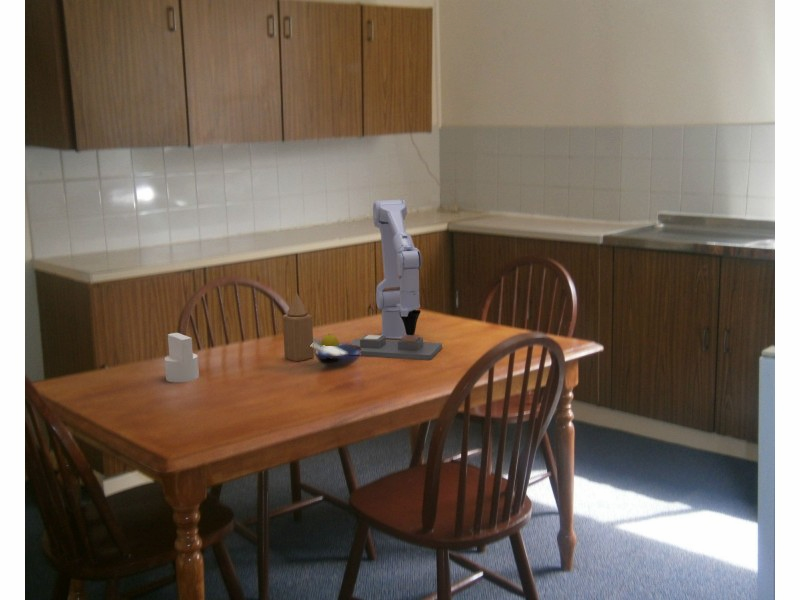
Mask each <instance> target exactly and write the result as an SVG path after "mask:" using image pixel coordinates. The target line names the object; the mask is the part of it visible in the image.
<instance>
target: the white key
mask: <svg viewBox="0 0 800 600" xmlns="http://www.w3.org/2000/svg"><path fill="white" fill-rule="evenodd" d="M367 335H368V336H366V337H365V338H364V339H369V340H379V339H380V338H381V337H382V336H379V334H367Z"/></svg>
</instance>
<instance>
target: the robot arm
mask: <svg viewBox="0 0 800 600" xmlns="http://www.w3.org/2000/svg"><path fill="white" fill-rule="evenodd" d="M407 209H408V208H407V203H406V201H405V200H404V199H403V198H401V199H389V200H388V199H387V200H385V199H384V200H378V199H376V200H375V201H374V202H373V205H372V218H373V224H374V227H376V228H378V229H379V231H380V239H381V240H380V241H381V254H382V256H381V257H382V266H383V279H382V280H381V281H380V282H379V283H378V284H377V285H376V288H375V289H376V291H375V292H376V293H375V303H376V306H377V308H378V309H379V310H381V334H380V335H384V336H386V339H389V340H390V339H391V340H392V339H393V340H400V339H401V338H402V337H403V336H404V335H405V334H407V335H416V334H415V333H416V327H417V322H418V321H419V320H418V319H419V316H420V314H421V310H420V308H421V303H420V271H419V270H420V269H421V268H422V255H421V251H420V250H419V249H418V247H416V246H415V244H414V241H413V238H412V236H411V234H410V233H409V232H408V231H407V230H406V227H405V226H406V225H405V220H406V217H407V213H408V212H407ZM387 288H388V289H387Z"/></svg>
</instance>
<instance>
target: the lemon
mask: <svg viewBox="0 0 800 600" xmlns="http://www.w3.org/2000/svg"><path fill="white" fill-rule="evenodd" d="M321 345H325V346H339V347H340V341H339V339H338V338H337V337H336V335H333V334H331V333H328V334H326V335H325V336H323V337H322V339H321V342H320V346H321Z"/></svg>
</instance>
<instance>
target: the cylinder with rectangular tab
mask: <svg viewBox="0 0 800 600" xmlns="http://www.w3.org/2000/svg"><path fill="white" fill-rule="evenodd" d="M167 342H168V343H167V344H168V354H169V355H167V356H165V357H164V369H165V371H164V372H165V379H166V381H167V382H169V383H187V382H192V381H196V380H197V379H199V377H200V372H199V356H198V354H196V353H194V352H193V339H192V337H190V336H188V335H184V334H182V333H179V332H173V333H169V334H167Z"/></svg>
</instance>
